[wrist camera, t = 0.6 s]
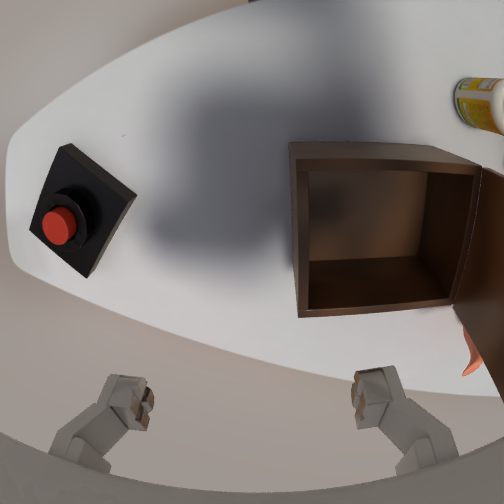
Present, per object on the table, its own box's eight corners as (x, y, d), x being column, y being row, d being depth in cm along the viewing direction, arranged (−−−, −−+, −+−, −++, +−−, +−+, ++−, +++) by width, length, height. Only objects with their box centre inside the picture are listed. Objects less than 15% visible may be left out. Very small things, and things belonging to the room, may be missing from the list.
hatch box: (292, 264, 32) (298, 318, 24) (288, 142, 26) (295, 159, 19) (419, 258, 31) (453, 304, 23) (432, 145, 25) (482, 166, 17)
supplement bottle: (456, 69, 21) (516, 68, 12) (492, 90, 21) (552, 98, 12) (448, 116, 23) (508, 130, 15) (484, 134, 24) (543, 154, 15)
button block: (70, 142, 27) (48, 150, 24) (137, 195, 30) (120, 208, 26) (38, 222, 32) (20, 236, 28) (94, 269, 34) (79, 287, 31)
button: (57, 199, 26) (47, 205, 25) (81, 219, 27) (72, 226, 26) (47, 224, 28) (38, 231, 26) (70, 244, 29) (62, 251, 27)
